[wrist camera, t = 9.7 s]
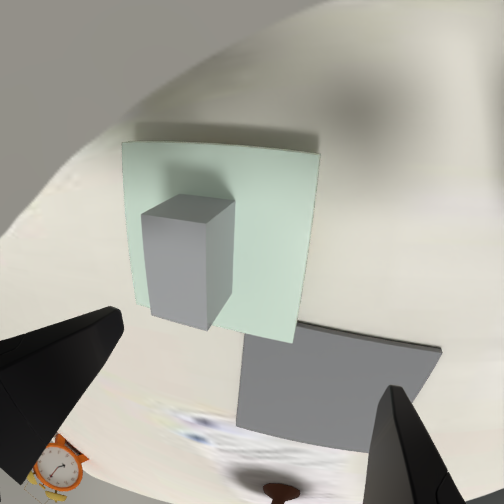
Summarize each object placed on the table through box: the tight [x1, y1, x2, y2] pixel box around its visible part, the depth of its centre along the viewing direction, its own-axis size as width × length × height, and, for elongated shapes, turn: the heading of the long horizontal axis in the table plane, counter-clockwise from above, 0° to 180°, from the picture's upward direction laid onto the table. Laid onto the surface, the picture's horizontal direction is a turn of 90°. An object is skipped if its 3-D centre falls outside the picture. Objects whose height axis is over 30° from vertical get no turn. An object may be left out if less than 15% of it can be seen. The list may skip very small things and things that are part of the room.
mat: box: [236, 322, 442, 453], centre depth 24 cm, size 15×15×1 cm
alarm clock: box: [27, 434, 89, 502], centre depth 49 cm, size 13×6×20 cm, turn 47°
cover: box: [122, 141, 321, 343], centre depth 17 cm, size 12×12×5 cm
